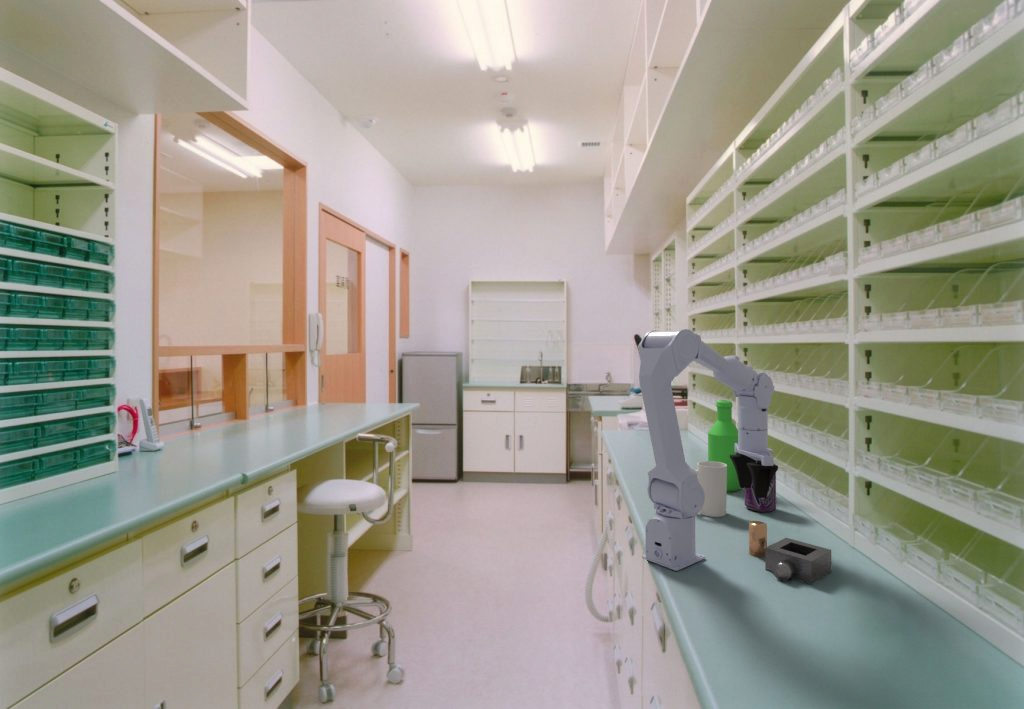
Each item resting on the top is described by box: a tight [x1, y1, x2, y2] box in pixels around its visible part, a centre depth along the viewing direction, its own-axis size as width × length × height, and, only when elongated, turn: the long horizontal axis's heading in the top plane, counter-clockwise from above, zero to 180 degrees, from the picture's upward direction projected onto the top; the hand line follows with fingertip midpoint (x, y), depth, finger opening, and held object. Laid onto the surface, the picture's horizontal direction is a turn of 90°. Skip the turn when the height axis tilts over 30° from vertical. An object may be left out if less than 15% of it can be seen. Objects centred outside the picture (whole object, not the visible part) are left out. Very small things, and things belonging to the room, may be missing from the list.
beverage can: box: [744, 461, 777, 513], centre depth 133 cm, size 7×7×12 cm
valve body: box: [764, 537, 832, 585], centre depth 97 cm, size 13×8×4 cm, turn 128°
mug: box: [691, 460, 728, 518], centre depth 131 cm, size 10×7×12 cm, turn 78°
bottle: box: [707, 399, 741, 493], centre depth 152 cm, size 9×9×25 cm
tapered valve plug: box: [748, 520, 768, 558], centre depth 105 cm, size 3×3×6 cm
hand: (752, 492), depth 114 cm, fingers open, 7 cm apart
